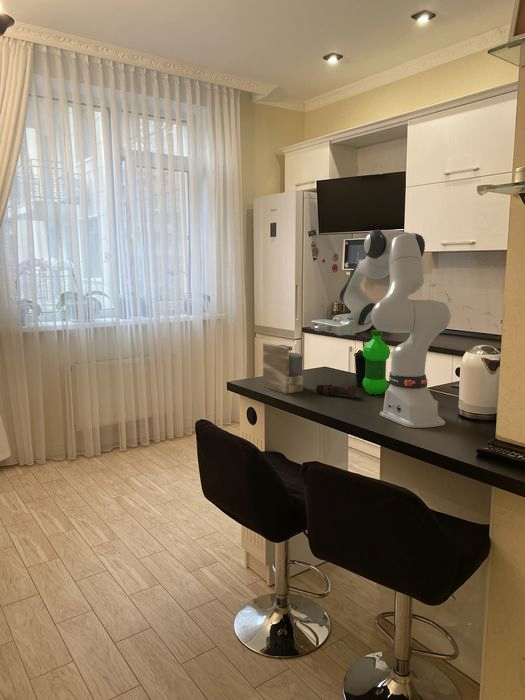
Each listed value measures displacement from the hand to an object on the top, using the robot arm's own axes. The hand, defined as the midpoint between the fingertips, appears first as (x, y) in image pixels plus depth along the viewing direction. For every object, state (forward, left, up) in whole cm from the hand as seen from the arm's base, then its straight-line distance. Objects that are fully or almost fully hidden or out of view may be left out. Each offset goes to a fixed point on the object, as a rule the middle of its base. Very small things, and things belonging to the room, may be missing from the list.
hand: (316, 328), depth 224 cm
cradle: (-5, +16, -23) cm, 29 cm away
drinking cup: (-8, -18, -24) cm, 31 cm away
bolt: (-20, -1, -24) cm, 31 cm away
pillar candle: (-3, +12, -24) cm, 27 cm away
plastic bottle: (-20, -18, -24) cm, 36 cm away
